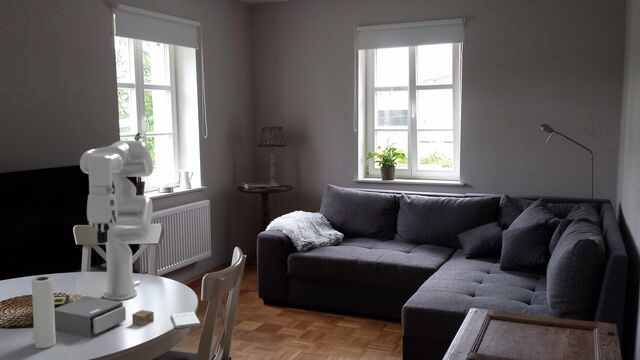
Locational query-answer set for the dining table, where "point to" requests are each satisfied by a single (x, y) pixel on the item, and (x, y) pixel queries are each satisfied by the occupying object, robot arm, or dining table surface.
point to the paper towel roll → (43, 311)
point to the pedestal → (143, 317)
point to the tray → (108, 320)
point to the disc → (95, 317)
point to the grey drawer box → (82, 315)
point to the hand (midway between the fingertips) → (102, 242)
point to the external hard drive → (185, 320)
